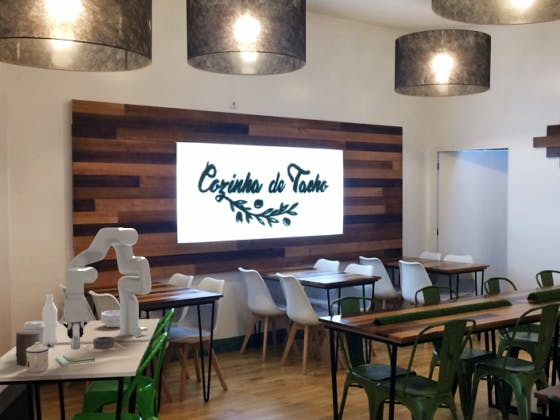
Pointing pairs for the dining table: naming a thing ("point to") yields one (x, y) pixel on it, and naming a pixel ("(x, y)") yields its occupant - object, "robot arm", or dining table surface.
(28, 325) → the coffee cup
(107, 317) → the paper bowls
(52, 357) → the dining table surface
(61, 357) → the sage pad
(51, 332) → the water bottle
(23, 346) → the pillar candle
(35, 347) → the teacup with lid
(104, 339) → the block
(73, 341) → the steel peg
